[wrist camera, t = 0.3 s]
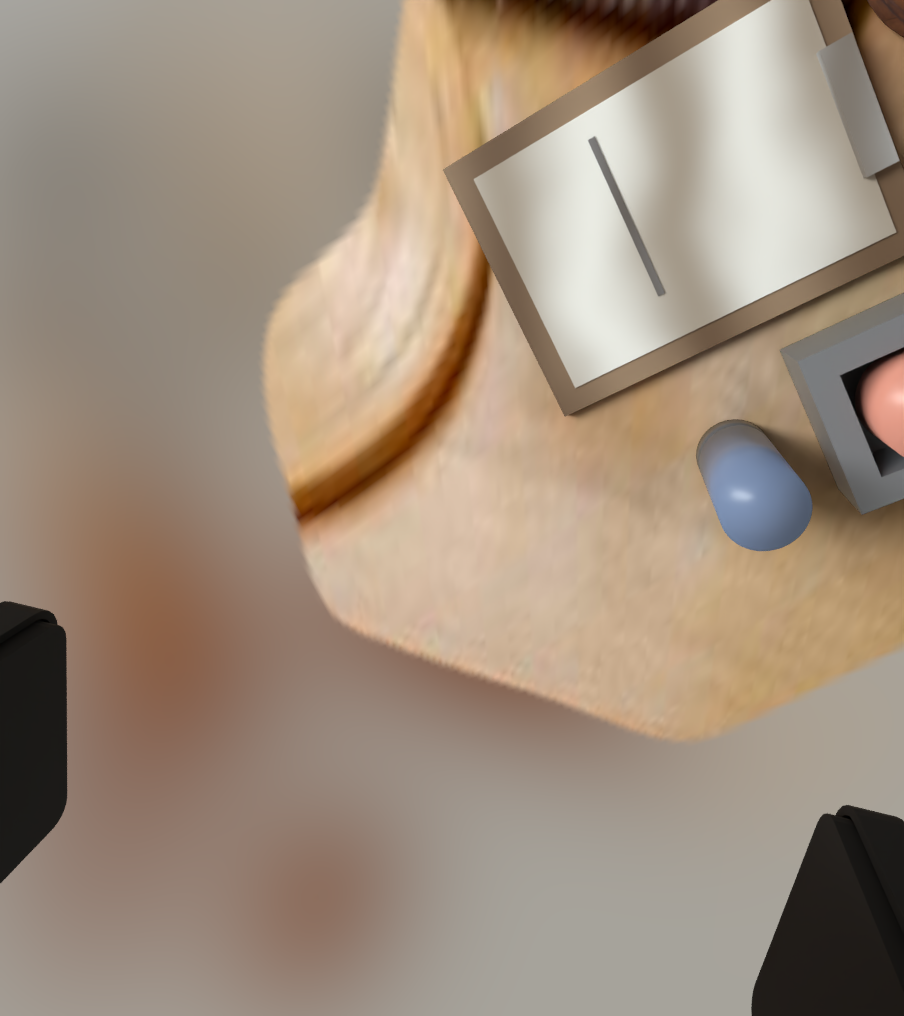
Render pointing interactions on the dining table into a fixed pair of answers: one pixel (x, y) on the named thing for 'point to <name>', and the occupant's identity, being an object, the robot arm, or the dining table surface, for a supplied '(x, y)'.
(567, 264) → the clipboard
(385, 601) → the dining table surface
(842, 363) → the button housing
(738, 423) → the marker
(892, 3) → the wooden figurine
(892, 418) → the button
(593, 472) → the dining table surface
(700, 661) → the dining table surface
